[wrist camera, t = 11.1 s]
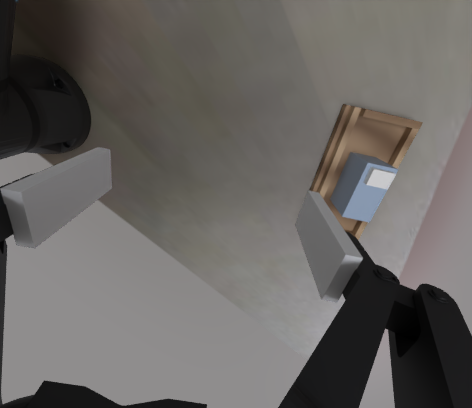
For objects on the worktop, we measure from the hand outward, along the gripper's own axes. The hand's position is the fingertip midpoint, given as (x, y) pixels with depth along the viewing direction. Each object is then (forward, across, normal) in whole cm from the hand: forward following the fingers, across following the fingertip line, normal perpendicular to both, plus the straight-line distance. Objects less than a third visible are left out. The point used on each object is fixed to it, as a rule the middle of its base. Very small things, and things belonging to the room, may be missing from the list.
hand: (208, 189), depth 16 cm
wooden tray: (+26, +23, -4) cm, 35 cm away
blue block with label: (+25, +23, -4) cm, 34 cm away
